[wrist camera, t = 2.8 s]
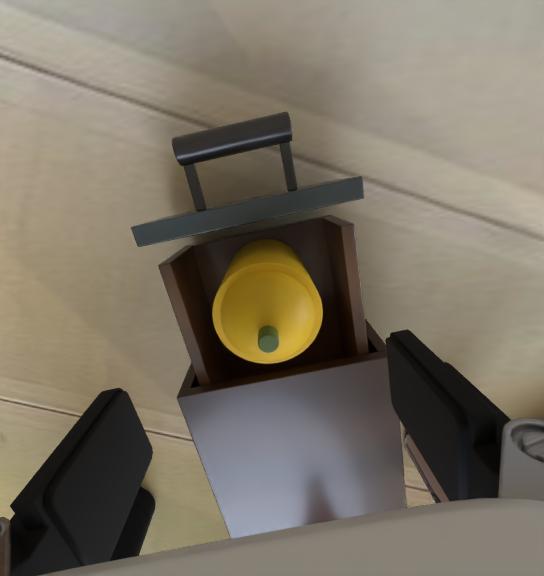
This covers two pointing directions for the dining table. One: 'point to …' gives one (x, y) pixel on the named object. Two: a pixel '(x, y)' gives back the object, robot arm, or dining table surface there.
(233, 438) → the cabinet
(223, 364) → the drawer
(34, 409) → the dining table surface
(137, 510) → the black bottle
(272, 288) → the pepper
